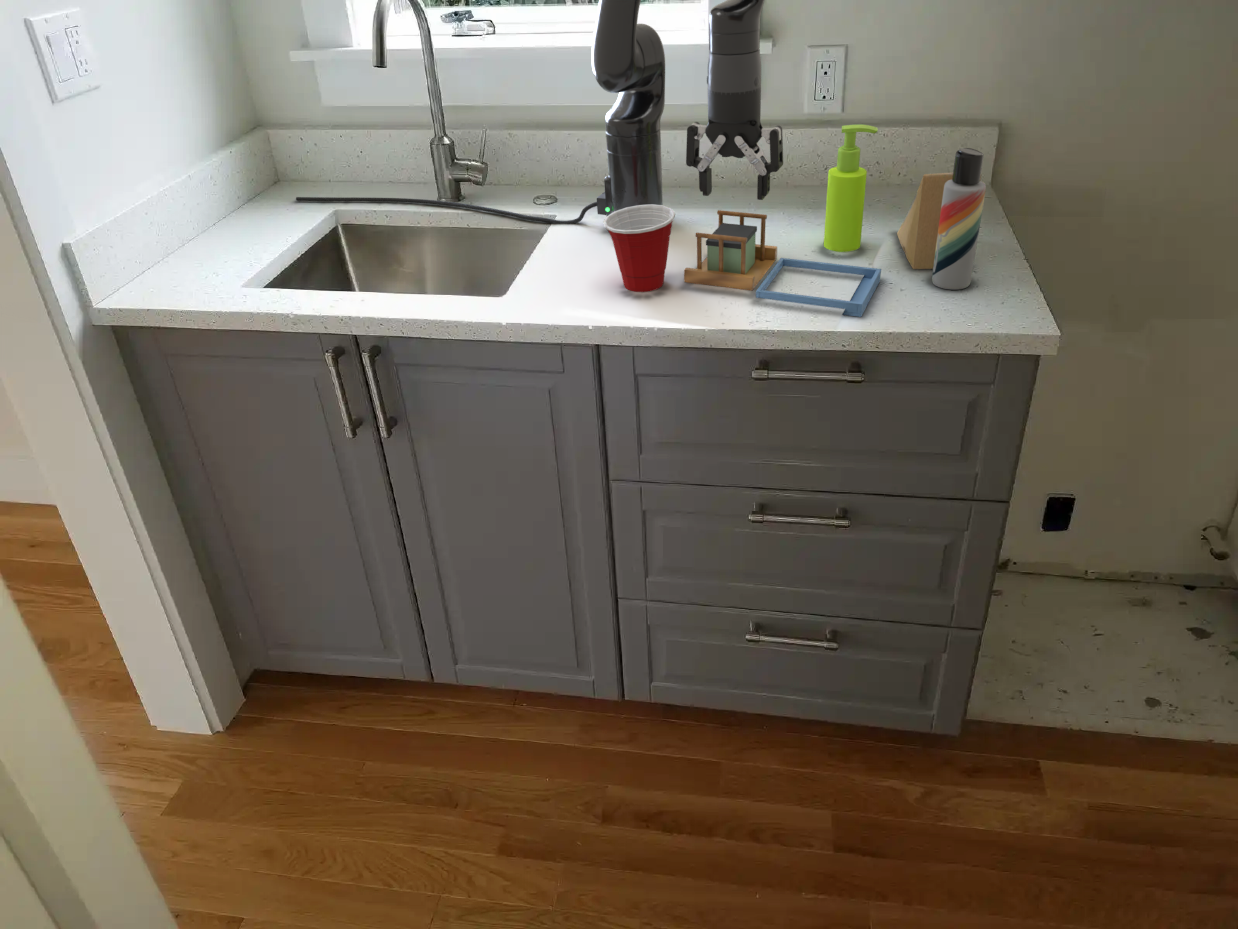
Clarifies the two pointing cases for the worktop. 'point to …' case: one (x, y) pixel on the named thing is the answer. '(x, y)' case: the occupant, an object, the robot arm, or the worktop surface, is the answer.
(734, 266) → the tub
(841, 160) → the soap dispenser
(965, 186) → the lotion bottle
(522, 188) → the worktop surface
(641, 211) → the plastic cup
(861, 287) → the tray
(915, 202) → the sandwich container
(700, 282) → the dish rack
